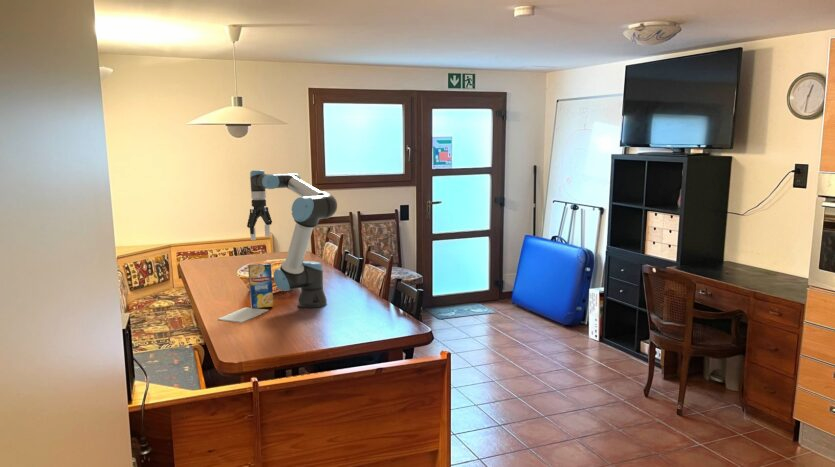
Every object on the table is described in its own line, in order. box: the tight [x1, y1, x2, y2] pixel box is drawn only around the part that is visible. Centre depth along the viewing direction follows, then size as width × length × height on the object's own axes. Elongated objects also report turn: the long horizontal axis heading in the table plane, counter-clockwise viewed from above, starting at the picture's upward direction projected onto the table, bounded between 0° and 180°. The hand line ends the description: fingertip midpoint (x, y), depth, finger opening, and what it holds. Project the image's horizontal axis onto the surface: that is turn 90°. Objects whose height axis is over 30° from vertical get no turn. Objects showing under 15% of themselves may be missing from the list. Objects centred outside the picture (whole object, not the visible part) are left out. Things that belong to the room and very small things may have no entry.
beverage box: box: [247, 263, 274, 309], centre depth 308 cm, size 7×11×22 cm, turn 112°
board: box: [217, 306, 270, 324], centre depth 293 cm, size 14×22×1 cm, turn 160°
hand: (260, 238), depth 318 cm, fingers open, 13 cm apart
